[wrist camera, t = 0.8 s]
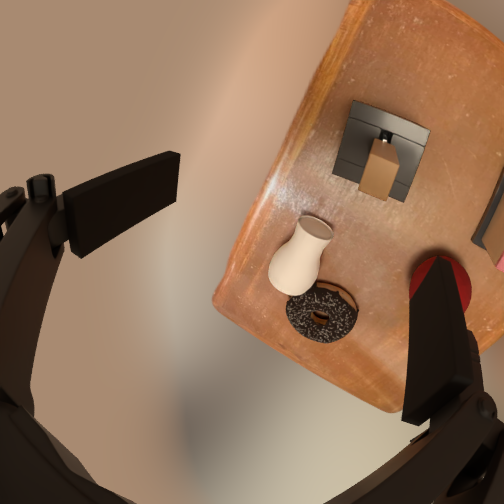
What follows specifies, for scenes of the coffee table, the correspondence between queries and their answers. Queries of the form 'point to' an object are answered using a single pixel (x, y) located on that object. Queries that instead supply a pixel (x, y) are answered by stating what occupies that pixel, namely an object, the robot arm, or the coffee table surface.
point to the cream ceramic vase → (300, 257)
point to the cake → (493, 227)
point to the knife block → (372, 126)
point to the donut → (326, 301)
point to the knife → (380, 169)
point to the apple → (460, 276)
